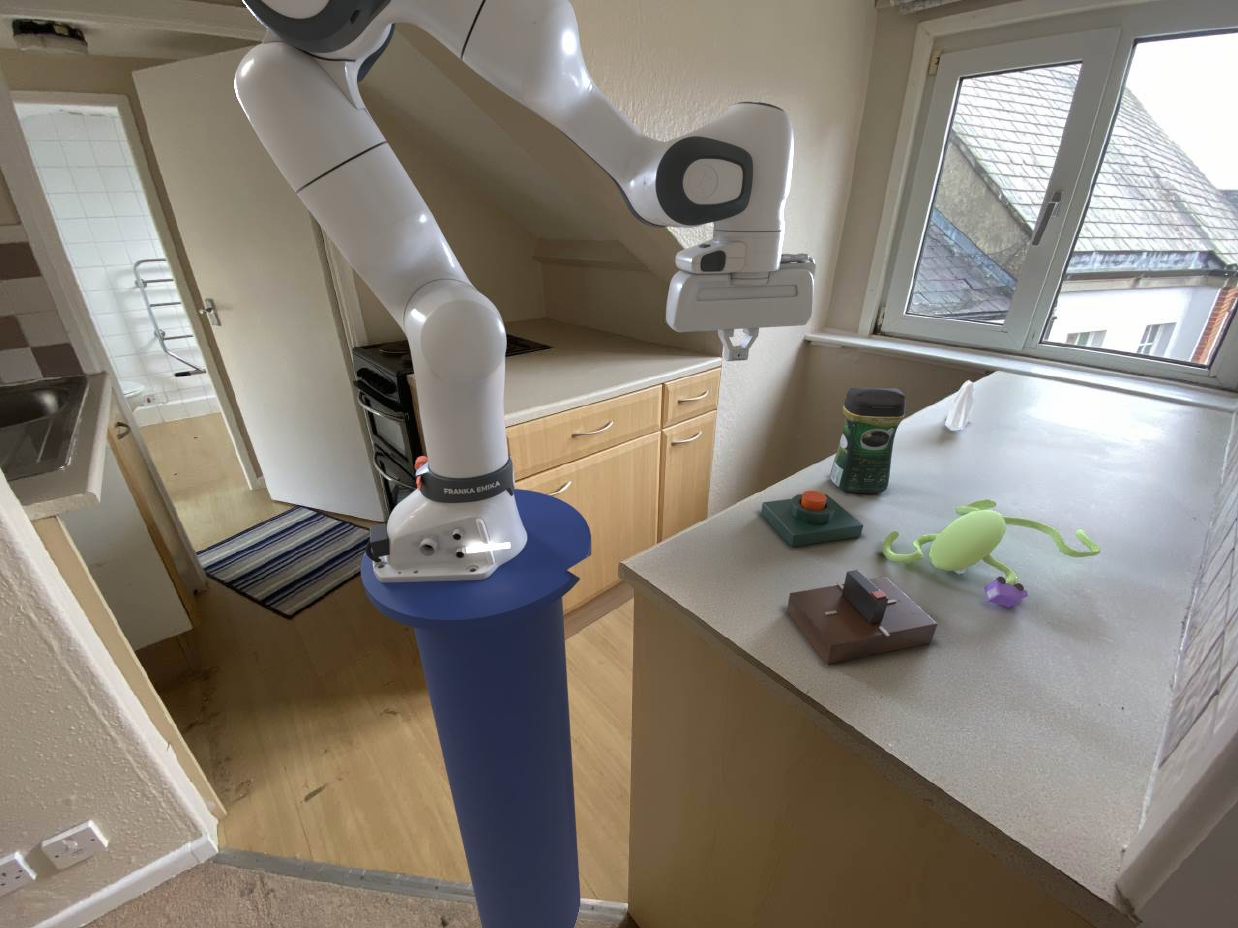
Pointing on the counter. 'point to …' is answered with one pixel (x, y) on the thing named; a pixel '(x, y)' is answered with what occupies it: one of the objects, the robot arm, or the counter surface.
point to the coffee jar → (867, 439)
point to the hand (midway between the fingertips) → (735, 360)
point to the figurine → (982, 547)
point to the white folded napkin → (961, 407)
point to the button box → (810, 521)
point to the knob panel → (858, 622)
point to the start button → (813, 500)
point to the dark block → (865, 596)
